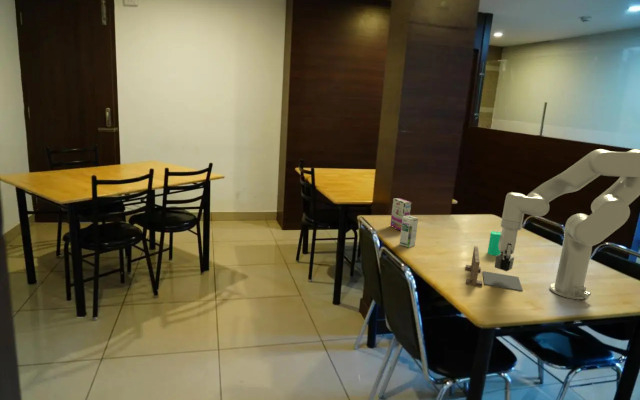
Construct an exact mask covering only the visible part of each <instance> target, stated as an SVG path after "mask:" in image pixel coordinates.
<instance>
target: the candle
mask: <svg viewBox="0 0 640 400" xmlns="http://www.w3.org/2000/svg"><path fill="white" fill-rule="evenodd" d="M501 232H502V231H499V230H497V231H493V230H492V231H490V234H489V241H488V247H487V254H488V255H491V256H495V257H496V256H497V255H499V254H501V252H500V250H499V246H498V245H499V241H500V236H501Z"/></svg>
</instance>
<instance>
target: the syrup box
mask: <svg viewBox="0 0 640 400" xmlns="http://www.w3.org/2000/svg"><path fill="white" fill-rule="evenodd" d="M418 222H419V217H416V216H412V215H410V216H409V215H407V216H403V218H402V227H401V231H400V237H399V245H400V246H403V247H406V248H411V247H414V246H415V245H416V239H417V231H418V230H417V229H418Z"/></svg>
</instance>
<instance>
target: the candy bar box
mask: <svg viewBox="0 0 640 400" xmlns="http://www.w3.org/2000/svg"><path fill="white" fill-rule="evenodd" d="M411 209H412V202H411V201H409V200H406V199H403V198H399V197H396V198H393V199H392V208H391V217H390V225H391V226H393V227H394V229H395V228H396V229H395V230H397V229H398V230H397V231H399V230H400V231H399V232H401V227H402V218H403V216H407V215H409V216H411V212H412V211H411ZM391 226H390V227H391ZM393 227H392V228H393Z"/></svg>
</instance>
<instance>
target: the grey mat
mask: <svg viewBox="0 0 640 400" xmlns="http://www.w3.org/2000/svg"><path fill="white" fill-rule="evenodd" d="M482 277H483V285H484V286H491V287H494V286H495V288H500V287H501V289H507V290H511V289H512V290H513V291H517V290H518V292H524V291H523V290H524V289H523V287H522V284H521V281H520V277H519V276H515V275H509V274H502V273H497V272H491V271H486V270H483V271H482Z"/></svg>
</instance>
